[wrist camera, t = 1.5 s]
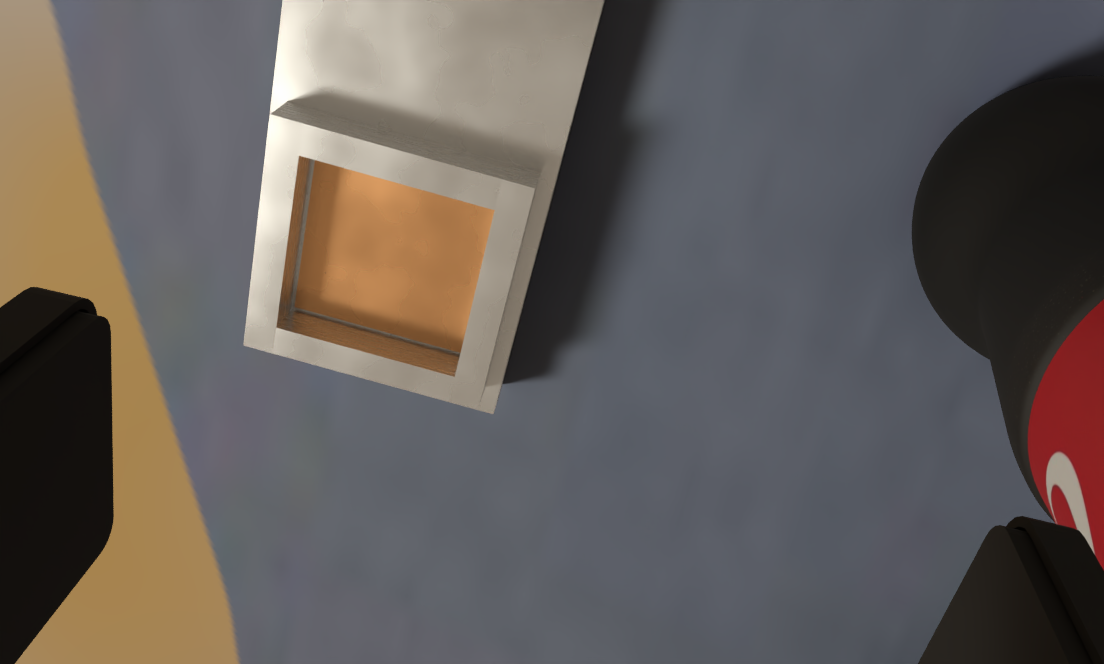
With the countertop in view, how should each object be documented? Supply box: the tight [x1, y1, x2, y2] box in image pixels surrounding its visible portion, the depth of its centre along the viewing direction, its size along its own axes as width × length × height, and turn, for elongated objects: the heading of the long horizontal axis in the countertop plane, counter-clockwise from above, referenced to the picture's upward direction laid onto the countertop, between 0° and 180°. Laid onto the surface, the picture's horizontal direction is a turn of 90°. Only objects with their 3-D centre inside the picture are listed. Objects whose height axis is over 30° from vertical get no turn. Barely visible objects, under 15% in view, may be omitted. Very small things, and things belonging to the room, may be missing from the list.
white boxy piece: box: [244, 0, 605, 414], centre depth 29 cm, size 24×9×4 cm, turn 166°
